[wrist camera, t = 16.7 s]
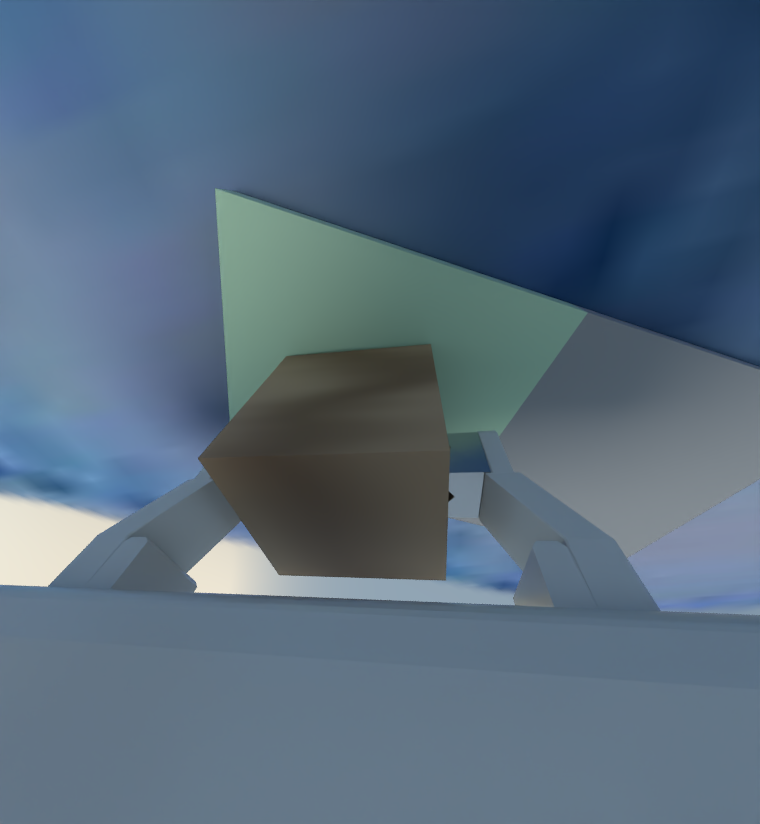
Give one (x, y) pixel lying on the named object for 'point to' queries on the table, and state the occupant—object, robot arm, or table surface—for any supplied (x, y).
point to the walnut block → (342, 465)
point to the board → (500, 367)
